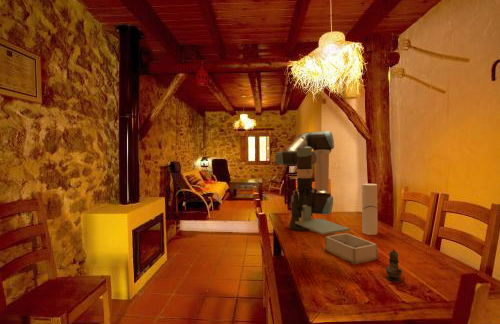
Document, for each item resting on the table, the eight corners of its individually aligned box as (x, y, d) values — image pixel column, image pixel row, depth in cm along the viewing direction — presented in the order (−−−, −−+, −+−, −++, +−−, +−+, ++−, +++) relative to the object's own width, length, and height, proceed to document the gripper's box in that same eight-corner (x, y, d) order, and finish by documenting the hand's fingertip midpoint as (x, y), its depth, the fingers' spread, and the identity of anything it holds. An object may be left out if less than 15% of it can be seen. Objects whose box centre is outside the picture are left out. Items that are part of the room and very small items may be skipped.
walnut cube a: (333, 249, 136) (333, 241, 136) (337, 247, 139) (337, 239, 139) (340, 251, 133) (340, 243, 133) (344, 249, 136) (344, 241, 136)
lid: (289, 223, 137) (289, 206, 136) (314, 220, 142) (314, 204, 142) (322, 238, 113) (322, 217, 112) (350, 233, 118) (350, 213, 118)
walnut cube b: (355, 252, 131) (355, 244, 131) (363, 252, 131) (363, 244, 131) (358, 256, 127) (358, 247, 127) (367, 255, 127) (367, 247, 127)
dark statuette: (382, 276, 109) (382, 246, 109) (396, 275, 110) (396, 246, 109) (391, 283, 103) (391, 252, 103) (405, 282, 104) (405, 251, 103)
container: (379, 235, 161) (378, 185, 160) (363, 234, 163) (363, 185, 162) (375, 231, 170) (375, 183, 169) (361, 230, 172) (360, 183, 171)
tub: (325, 250, 139) (325, 236, 139) (346, 245, 144) (346, 233, 144) (354, 264, 120) (353, 249, 120) (377, 259, 126) (377, 244, 126)
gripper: (294, 178, 130) (294, 227, 131) (323, 177, 136) (323, 223, 137) (286, 177, 137) (286, 223, 137) (314, 176, 143) (314, 219, 144)
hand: (305, 223), depth 137 cm, fingers closed on lid, 4 cm apart
